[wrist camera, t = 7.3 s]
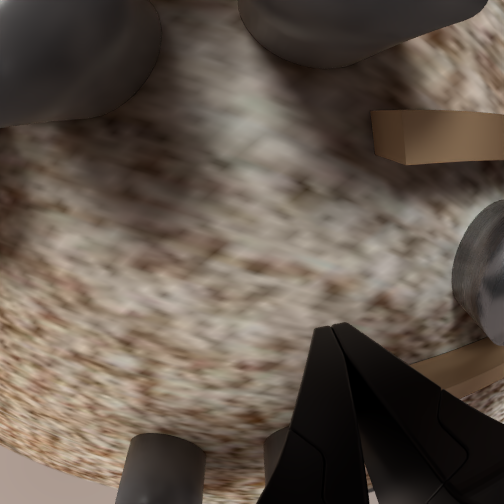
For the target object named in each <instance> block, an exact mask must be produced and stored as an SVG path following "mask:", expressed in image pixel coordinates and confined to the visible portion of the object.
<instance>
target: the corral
mask: <svg viewBox="0 0 504 504" xmlns="http://www.w3.org/2000/svg"><path fill="white" fill-rule="evenodd" d="M370 114H371V122H372V131H373V140H374V150H375V155H377V156H380V157H383V158H386V159H389V160H392V161H395V162H398V163H401V164H404V165H416V164H429V163H444V162H461V161H484V160H504V115H502V114H492V113H481V112H468V111H449V110H378V111H370ZM410 366H411V367H413V368H414V369H415V370H417V371H418V372H420V373H421V374H423V375H424V376H426V377H427V378H429V379H430V380H431V381H433V382H434V383H436V384H437V385H439V386H440V387H441V390H442V389H445V390H446V391H448V392H449V393H451V394H452V395H454V396H455V397H457V398H458V399H460V398H462V397H465V396H467V395H469V394H472V393H474V392H476V391H478V390H480V389H482V388H484V387H486V386H489V385H491V384H493V383H495V382H497V381H498V380H500V379H502V378H504V346H499V345H496V344H494V343H493V342H492V340H491V339H490V338H489V337H486V338H484V339H482V340H479V341H477V342H474V343H472V344H469V345H466V346H464V347H461V348H458V349H456V350H453V351H450V352H447V353H444V354H442V355H439V356H436V357H433V358H430V359H427V360H423V361H420V362H417V363H414V364H411V365H410Z"/></svg>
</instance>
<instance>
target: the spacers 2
mask: <svg viewBox="0 0 504 504" xmlns="http://www.w3.org/2000/svg"><path fill="white" fill-rule="evenodd" d="M288 430H289V427H286V428H283V429H281V430H279V431H277V432H275V433H274V434H272V435H271V436H269V437H268V438H267V439H266V441H265V443H264V467H265V486H266V485H267V483H268V481H269V479H270V477H271V474H272V472H273V470H274V468H275V466H276V464H277V461H278V458H279V456H280V453H281V450H282V447H283V444H284V441H285V438H286V435H287V431H288ZM205 463H206V456H205V454H204V452H203V451H202V450H201V449H200V448H199V447H197V446H196V445H194V444H192V443H190V442H188V441H185V440H183V439H180V438H177V437H173V436H169V435H164V434H154V433H148V434H140V435H137V436H135V437H134V438H132V440H131V443H130V446H129V450H128V454H127V457H126V461H125V465H124V469H123V473H122V477H121V481H120V485H119V489H118V493H117V498H116V502H115V504H202V500H203V487H204V475H205Z"/></svg>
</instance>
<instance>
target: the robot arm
mask: <svg viewBox="0 0 504 504" xmlns="http://www.w3.org/2000/svg"><path fill="white" fill-rule="evenodd" d="M364 462H365V465H366V468H367V471H368V474H369V476H370V479H371V482H372V485H373V488H374V491H375V494H376V497H377V499H378V502H379V504H504V424H503V423H501V422H499V421H497V420H495V419H493V418H491V417H489V416H487V415H485V414H483V413H481V412H480V411H478V410H476V409H474V408H472V407H471V406H469V405H468V404H466V403H464V402H463V401H461V400H460V399H458V398H457V397H455V396H454V395H452V394H451V393H449V392H448V391H446V390H445V389H442V390H441V387H440V386H439V385H437V384H436V383H434V382H433V381H431V380H430V379H429V378H427V377H426V376H424V375H423V374H421V373H420V372H418V371H417V370H415V369H414V368H413V367H411V366H410V365H408V364H407V363H405V362H404V361H402V360H401V359H399V358H398V357H397V356H395V355H394V354H392V353H391V352H389V351H388V350H386V349H385V348H383V347H382V346H381V345H379V344H378V343H376V342H375V341H373V340H372V339H370V338H369V337H368V336H366V335H365V334H363V333H362V332H360V331H359V330H357V329H356V328H354V327H353V326H352V325H350V324H349V323H347V322H343V323H338V324H333V325H332V326H331V327H330V326H324V327H318V328H315V329H314V332H313V337H312V341H311V345H310V349H309V354H308V358H307V362H306V366H305V370H304V374H303V378H302V382H301V385H300V389H299V393H298V397H297V400H296V404H295V408H294V411H293V415H292V418H291V422H290V425H289V430H288V431H287V435H286V438H285V441H284V444H283V447H282V450H281V453H280V456H279V458H278V461H277V464H276V466H275V468H274V470H273V472H272V474H271V477H270V479H269V481H268V483H267V485H266V487H265V489H264V490H263V492H262V494H261V496H260V498H259V499H258V501H257V503H256V504H369V495H368V487H367V480H366V472H365V465H364Z"/></svg>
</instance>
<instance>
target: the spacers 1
mask: <svg viewBox="0 0 504 504" xmlns="http://www.w3.org/2000/svg"><path fill="white" fill-rule="evenodd" d="M487 1H488V0H237V2H238V9H239V12H240V16H241V18H242V20H243V22H244V24H245V26H246V28H247V29H248V31H249V32H250V33H251V34H252V36H253V37H254V38H255V39H256V40H257V41H258V42H259V43H260V44H261V45H262V46H263V47H265V48H266V49H268V50H269V51H270V52H272V53H274V54H275V55H277V56H279V57H280V58H283V59H285V60H287V61H289V62H292V63H295V64H298V65H302V66H306V67H311V68H320V69H332V68H340V67H345V66H349V65H352V64H354V63H357V62H359V61H361V60H363V59H366V58H368V57H370V56H372V55H375V54H377V53H379V52H381V51H384V50H386V49H388V48H391V47H393V46H396V45H398V44H400V43H403V42H405V41H408V40H410V39H413V38H416V37H418V36H421V35H424V34H426V33H429V32H432V31H434V30H437V29H440V28H443V27H446V26H449V25H452V24H455V23H458V22H461V21H464V20H467V19H469V18H471V17H473V16H475V15H476V14H477V13H479V12H480V11H481V10H482V9H483V8H484V6H485V5H486V4H487ZM161 35H162V33H161V24H160V20H159V16H158V14H157V12H156V10H155V8H154V7H153V5H152V4H151V3H150V2H149V1H148V0H0V128H5V127H11V126H18V125H25V124H33V123H41V122H51V121H61V120H73V119H87V118H94V117H98V116H101V115H104V114H106V113H108V112H111V111H113V110H114V109H116V108H118V107H119V106H121V105H122V104H123V103H125V102H126V101H127V100H129V99H130V98H131V97H132V96H133V95H134V94H135V93H136V92H137V91H138V90H139V88H140V87H141V86H142V85H143V83H144V82H145V81H146V79H147V78H148V76H149V74H150V73H151V71H152V69H153V67H154V65H155V63H156V60H157V57H158V54H159V50H160V45H161Z"/></svg>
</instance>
